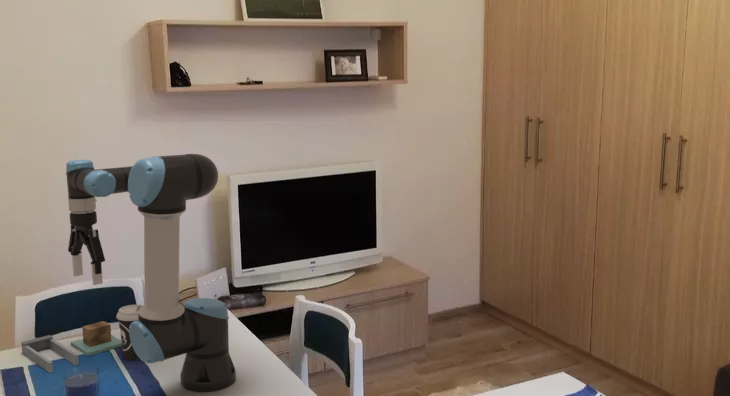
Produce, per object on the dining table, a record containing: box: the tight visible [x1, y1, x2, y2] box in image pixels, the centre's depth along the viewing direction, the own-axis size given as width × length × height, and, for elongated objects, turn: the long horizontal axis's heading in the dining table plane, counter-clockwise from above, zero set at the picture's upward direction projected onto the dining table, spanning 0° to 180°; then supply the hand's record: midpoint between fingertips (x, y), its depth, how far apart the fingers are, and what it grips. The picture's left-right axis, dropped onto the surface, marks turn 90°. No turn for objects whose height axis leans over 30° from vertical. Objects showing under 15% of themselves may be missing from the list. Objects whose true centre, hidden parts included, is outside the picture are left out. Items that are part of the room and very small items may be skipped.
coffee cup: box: [115, 304, 144, 361], centre depth 212 cm, size 10×10×15 cm
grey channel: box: [20, 334, 80, 374], centre depth 210 cm, size 20×8×4 cm, turn 46°
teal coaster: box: [70, 334, 122, 357], centre depth 221 cm, size 12×12×1 cm
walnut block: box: [82, 320, 112, 347], centre depth 221 cm, size 7×4×6 cm, turn 136°
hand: (87, 279), depth 215 cm, fingers open, 13 cm apart
